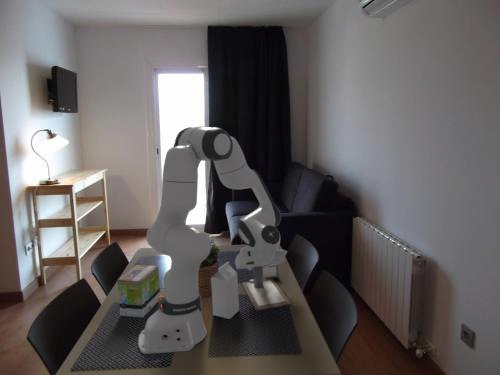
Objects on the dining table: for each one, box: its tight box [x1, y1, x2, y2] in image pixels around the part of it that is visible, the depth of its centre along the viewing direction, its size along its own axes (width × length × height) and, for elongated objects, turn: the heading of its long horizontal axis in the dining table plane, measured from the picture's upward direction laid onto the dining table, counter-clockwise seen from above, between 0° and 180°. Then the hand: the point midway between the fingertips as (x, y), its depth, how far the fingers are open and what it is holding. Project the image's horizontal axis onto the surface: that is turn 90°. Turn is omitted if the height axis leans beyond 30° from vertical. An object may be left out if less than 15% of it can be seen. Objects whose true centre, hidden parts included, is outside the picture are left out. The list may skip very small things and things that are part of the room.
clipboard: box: [241, 278, 292, 312], centre depth 156 cm, size 14×24×2 cm, turn 14°
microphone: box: [252, 266, 263, 288], centre depth 160 cm, size 4×4×13 cm
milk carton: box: [210, 261, 240, 320], centre depth 141 cm, size 7×7×19 cm
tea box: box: [117, 264, 161, 318], centre depth 148 cm, size 15×10×15 cm
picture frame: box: [263, 264, 279, 279], centre depth 170 cm, size 8×1×6 cm, turn 104°
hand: (257, 267), depth 160 cm, fingers open, 5 cm apart
